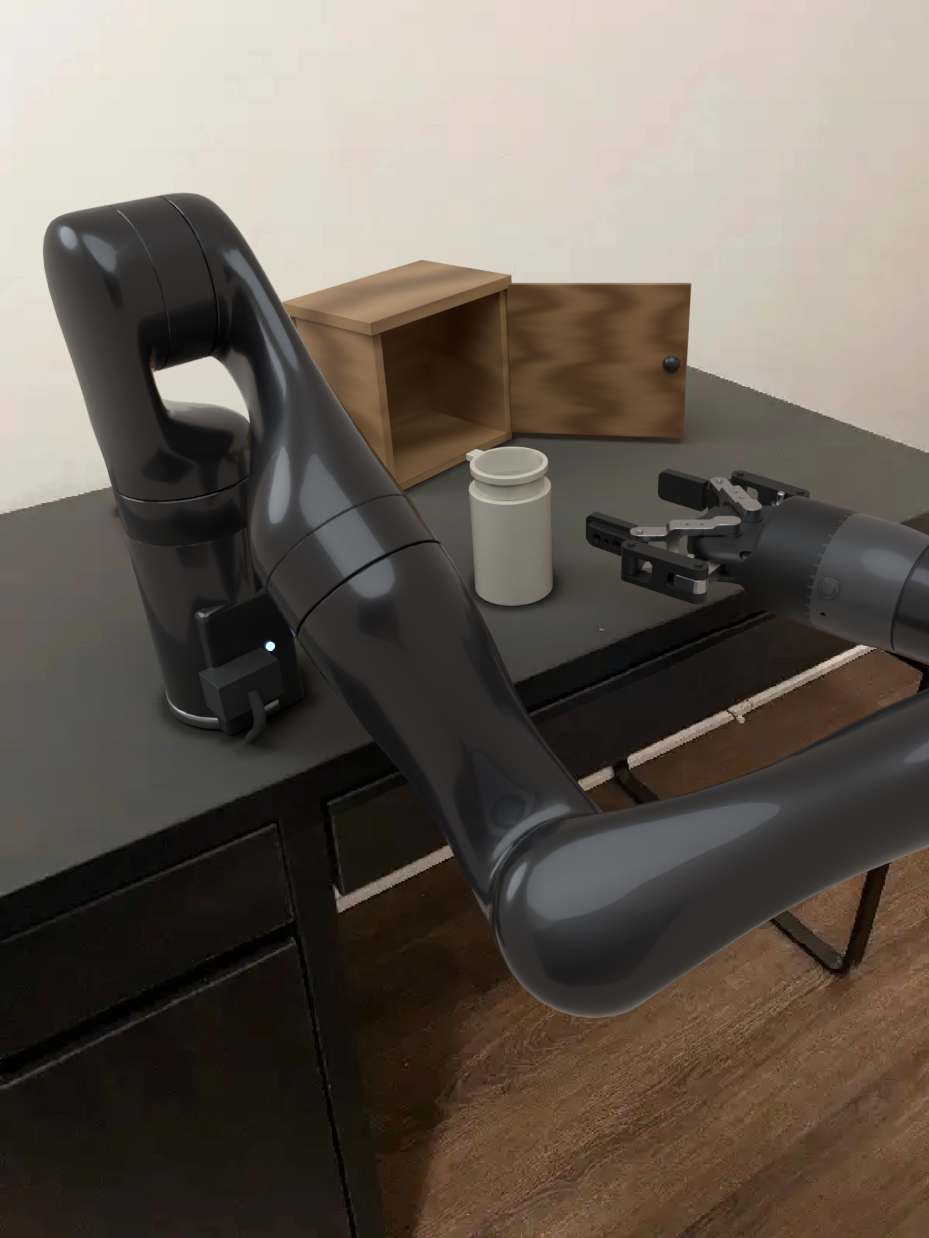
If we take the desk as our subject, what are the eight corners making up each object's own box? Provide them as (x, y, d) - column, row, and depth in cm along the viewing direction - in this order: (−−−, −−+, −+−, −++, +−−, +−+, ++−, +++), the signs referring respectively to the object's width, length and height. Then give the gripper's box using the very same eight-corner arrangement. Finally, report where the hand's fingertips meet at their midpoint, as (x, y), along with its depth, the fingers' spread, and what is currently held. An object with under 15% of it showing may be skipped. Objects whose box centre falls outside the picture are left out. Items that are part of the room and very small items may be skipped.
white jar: (569, 582, 84) (567, 458, 78) (517, 614, 81) (512, 487, 75) (503, 556, 89) (498, 436, 83) (452, 586, 85) (442, 463, 79)
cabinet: (684, 444, 107) (694, 274, 98) (507, 544, 90) (499, 353, 81) (486, 390, 124) (478, 242, 115) (307, 467, 108) (281, 302, 98)
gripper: (779, 677, 60) (562, 590, 70) (887, 580, 69) (680, 514, 78) (793, 565, 56) (561, 490, 66) (906, 476, 65) (685, 421, 74)
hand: (626, 503), depth 72 cm, fingers open, 8 cm apart
